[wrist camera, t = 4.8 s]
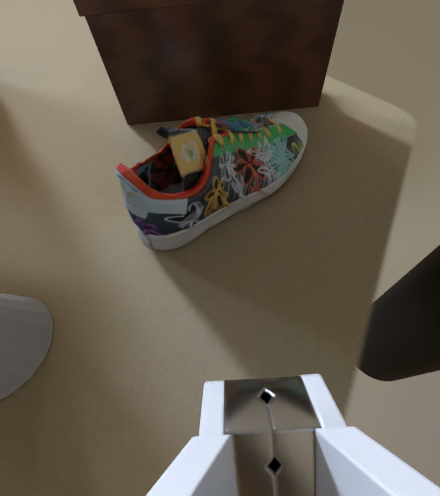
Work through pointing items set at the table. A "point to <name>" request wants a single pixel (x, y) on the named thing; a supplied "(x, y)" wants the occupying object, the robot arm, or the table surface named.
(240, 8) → the wooden wall shelf
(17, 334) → the lava lamp
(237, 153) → the sneaker
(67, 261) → the table surface
